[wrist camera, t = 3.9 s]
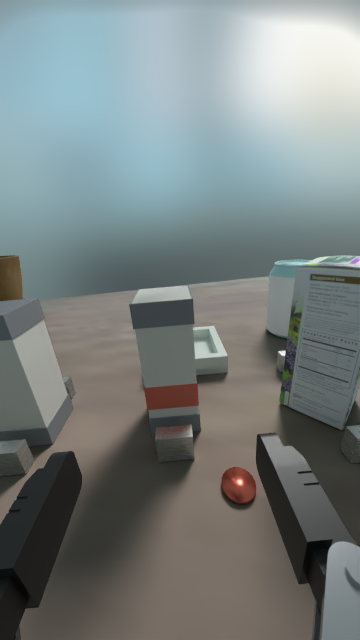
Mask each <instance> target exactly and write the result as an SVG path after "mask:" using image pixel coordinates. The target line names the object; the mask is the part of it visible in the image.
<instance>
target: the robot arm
mask: <svg viewBox="0 0 360 640" xmlns="http://www.w3.org/2000/svg"><path fill="white" fill-rule="evenodd" d="M256 464H257V469H258V473H259V476H260V479H261V482H262V484H263V487H264V490H265V493H266V495H267V498H268V501H269V504H270V506H271V509H272V512H273V514H274V517H275V520H276V523H277V525H278V528H279V531H280V534H281V536H282V539H283V542H284V545H285V547H286V550H287V553H288V556H289V558H290V561H291V564H292V566H293V569H294V572H295V575H296V577H297V580H298V583H299V584H306V583H309V584H310V587H311V589H312V592H313V594H314V597H315V599H316V601H315V611H314V621H313V632H312V640H360V546H359V545H358V544H357V543H356V542H355V541H354V539H353V538H352V537H351V535H350V534H349V532H348V530H347V529H346V527H345V525H344V524H343V522H342V520H341V519H340V517H339V515H338V514H337V512H336V510H335V509H334V507H333V505H332V504H331V502H330V500H329V499H328V497H327V495H326V494H325V492H324V490H323V489H322V487H321V485H319V482H318V480H317V479H316V477H315V475H314V473H312V470H311V468H310V467H309V465H308V463H307V462H306V460H305V458H304V457H303V456H302V455H301V454H300V453H299V452H298V451H297V450H296V449H295V448H294V447H293V446H283V444H282V442H281V440H280V439H279V437H278V435H277V434H276V433H267V434H258V435H257V447H256ZM81 485H82V475H81V472H80V469H79V466H78V463H77V460H76V457H75V455H74V452H72V451H68V452H57V453H53V454H52V455H51V456H50V458H49V459H48V461H47V463H46V465H45V467H44V468H41V469H38V470H37V471H36V472H35V473H34V474H33V475H32V476H31V477H30V478H29V479H28V480H27V481H26V483H25V484H24V486H23V488H22V489H21V491H20V493H19V494H18V496H17V499H16V500H15V501H14V503H13V504H12V506H11V508H10V510H9V513H8V514H7V515H6V516H5V518H4V520H3V521H2V523H1V525H0V640H21V635H20V627H19V624H20V621H21V618H22V616H23V613H24V611H25V609H26V608H37V607H39V605H40V602H41V599H42V596H43V593H44V591H45V588H46V585H47V582H48V579H49V577H50V574H51V571H52V568H53V565H54V563H55V560H56V557H57V554H58V552H59V549H60V546H61V543H62V540H63V538H64V535H65V532H66V529H67V526H68V524H69V521H70V518H71V515H72V513H73V510H74V507H75V504H76V501H77V499H78V496H79V493H80V490H81Z"/></svg>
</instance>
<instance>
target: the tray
mask: <svg viewBox="0 0 360 640" xmlns="http://www.w3.org/2000/svg"><path fill="white" fill-rule="evenodd" d="M193 333H194V349H195V365H196V375H206V374H217V373H228V356H227V354H226V351H225V349H224V347H223V345H222V343H221V340H220V338H219V336H218V334H217V332H216V330H215V327H214V326H208V327H196V328H193Z"/></svg>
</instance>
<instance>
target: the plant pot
mask: <svg viewBox="0 0 360 640" xmlns="http://www.w3.org/2000/svg"><path fill="white" fill-rule="evenodd" d="M10 300H22V277H21V269H20V262H19V256H18V255H13V256H0V301H10Z"/></svg>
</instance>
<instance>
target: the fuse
mask: <svg viewBox="0 0 360 640" xmlns="http://www.w3.org/2000/svg"><path fill="white" fill-rule="evenodd" d="M44 318H45V317H44V314H43V311H42V308H41V305H40V301H39V299H38V298H33V299H22V300H10V301H0V442H1V441H12V440H24V439H25V440H26V442H27V444H28V446H38V445H50V444H53V443H54V442H55V440H56V438H57V436H58V435H59V433H60V431H61V429H62V427H63V426H64V424H65V422H66V420H67V419H68V417H69V415H70V413H71V412H72V410H73V405H72V402H71V399H70V396H69V394H67V391H66V388H65V385H64V382H63V379H62V375H61V372H60V369H59V366H58V363H57V360H56V357H55V354H54V351H53V347H52V344H51V341H50V338H49V335H48V332H47V329H46V326H45V323H44Z"/></svg>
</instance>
